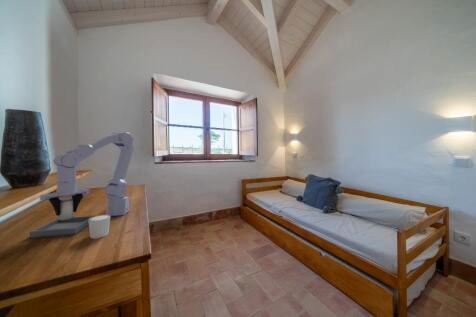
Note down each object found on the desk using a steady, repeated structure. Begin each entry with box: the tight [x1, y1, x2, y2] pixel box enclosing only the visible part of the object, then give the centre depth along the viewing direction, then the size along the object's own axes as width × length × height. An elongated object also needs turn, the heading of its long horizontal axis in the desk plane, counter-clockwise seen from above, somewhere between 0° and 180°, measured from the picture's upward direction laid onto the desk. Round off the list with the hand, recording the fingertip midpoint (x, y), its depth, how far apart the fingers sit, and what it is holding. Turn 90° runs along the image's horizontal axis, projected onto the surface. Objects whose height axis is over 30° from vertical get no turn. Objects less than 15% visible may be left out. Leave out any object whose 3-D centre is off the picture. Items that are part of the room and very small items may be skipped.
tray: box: [29, 215, 96, 239], centre depth 71 cm, size 14×14×2 cm
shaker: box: [58, 197, 74, 220], centre depth 71 cm, size 5×5×8 cm
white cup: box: [88, 214, 111, 239], centre depth 66 cm, size 7×7×7 cm
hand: (66, 213), depth 71 cm, fingers closed on shaker, 4 cm apart
